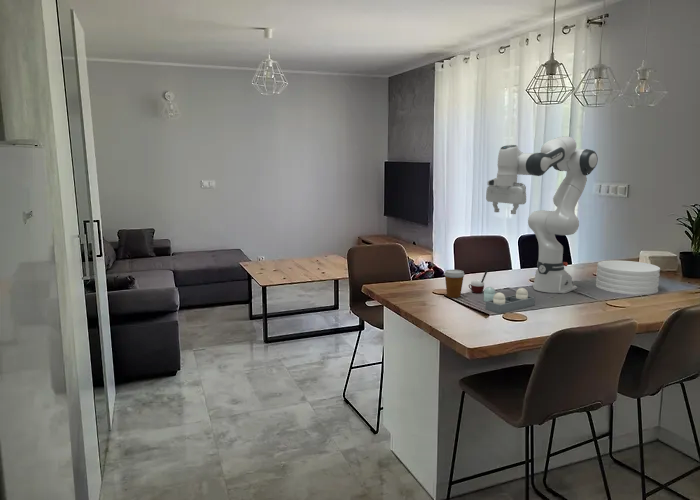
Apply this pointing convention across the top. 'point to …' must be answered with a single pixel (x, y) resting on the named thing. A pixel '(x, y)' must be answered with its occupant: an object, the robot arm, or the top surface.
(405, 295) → the top surface
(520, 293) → the inner cream egg
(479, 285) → the cocoa
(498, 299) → the outer cream egg
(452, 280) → the disposable coffee cup
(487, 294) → the blue egg
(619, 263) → the plate stack
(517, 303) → the egg crate
